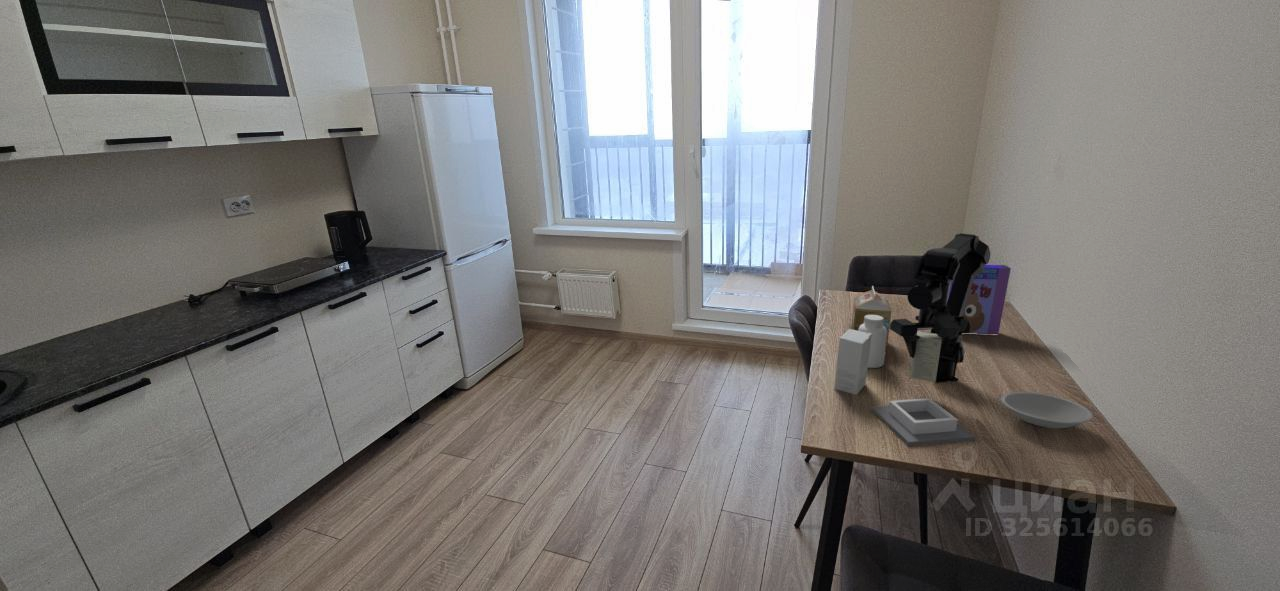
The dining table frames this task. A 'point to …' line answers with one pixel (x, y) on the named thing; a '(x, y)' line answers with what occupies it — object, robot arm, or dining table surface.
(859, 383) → the skincare box
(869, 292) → the milk carton
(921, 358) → the skincare box
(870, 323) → the pill bottle
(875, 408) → the socket stand
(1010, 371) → the dining table surface
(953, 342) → the robot arm
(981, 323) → the cereal box
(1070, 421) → the dish
